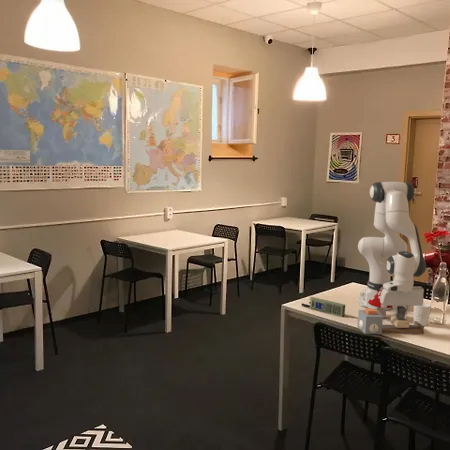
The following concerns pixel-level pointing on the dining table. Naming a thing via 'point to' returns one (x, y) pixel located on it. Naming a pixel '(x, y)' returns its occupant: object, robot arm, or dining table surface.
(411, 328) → the rail
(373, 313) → the button
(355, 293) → the dining table surface
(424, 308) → the white cup
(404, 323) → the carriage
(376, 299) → the decorative mushroom
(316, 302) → the handheld radio
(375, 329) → the gauge cabinet
